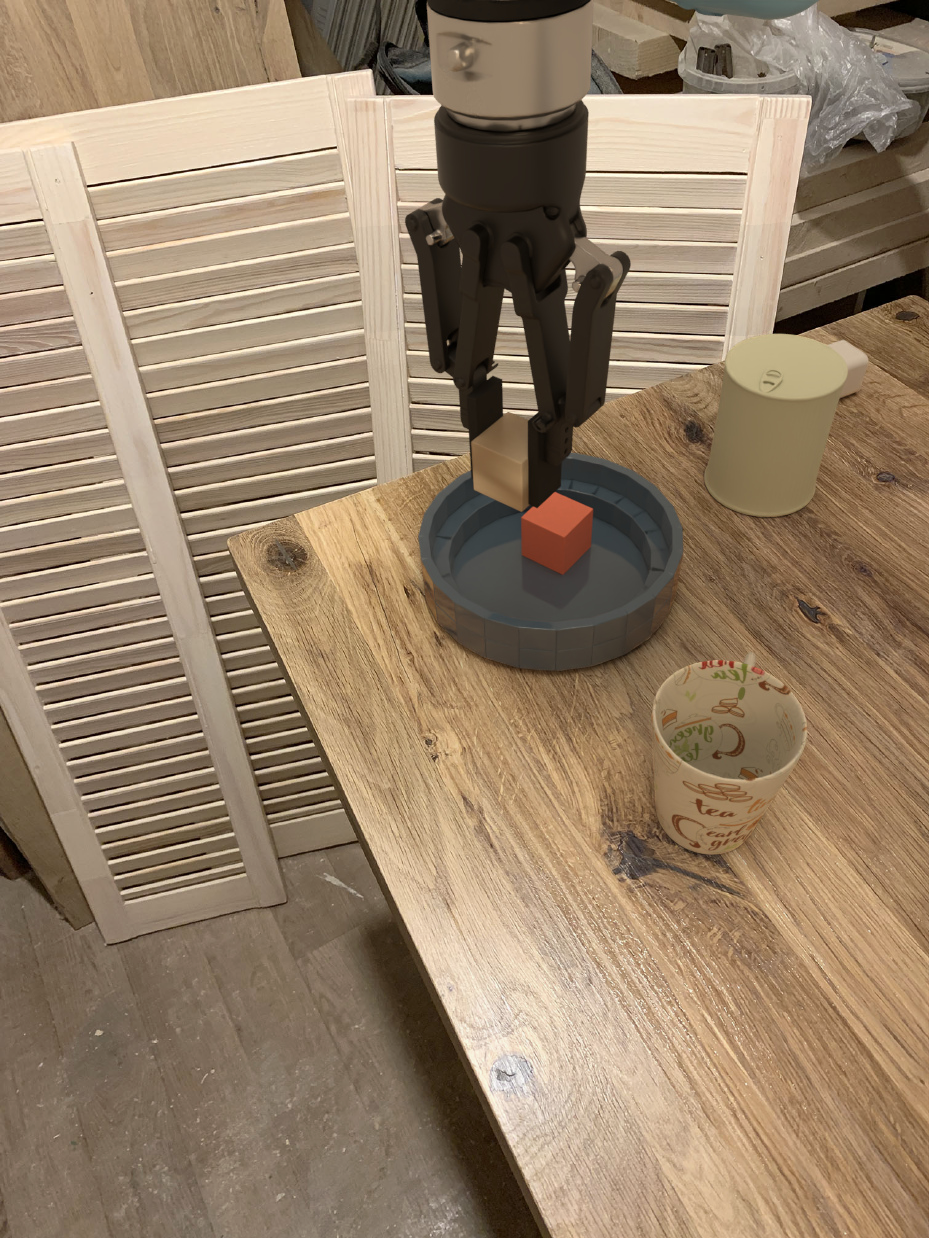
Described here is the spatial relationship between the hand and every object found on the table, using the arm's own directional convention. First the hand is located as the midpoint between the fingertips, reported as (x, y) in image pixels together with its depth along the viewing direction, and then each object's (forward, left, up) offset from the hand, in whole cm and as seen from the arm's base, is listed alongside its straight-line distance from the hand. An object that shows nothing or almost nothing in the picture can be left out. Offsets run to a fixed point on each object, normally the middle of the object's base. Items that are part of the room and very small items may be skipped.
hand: (515, 481), depth 62 cm
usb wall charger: (-7, -39, -13) cm, 41 cm away
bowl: (0, -4, -12) cm, 13 cm away
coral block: (+1, -6, -12) cm, 14 cm away
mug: (-19, +5, -13) cm, 24 cm away
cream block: (0, 0, 0) cm, 0 cm away
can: (-8, -24, -13) cm, 28 cm away
